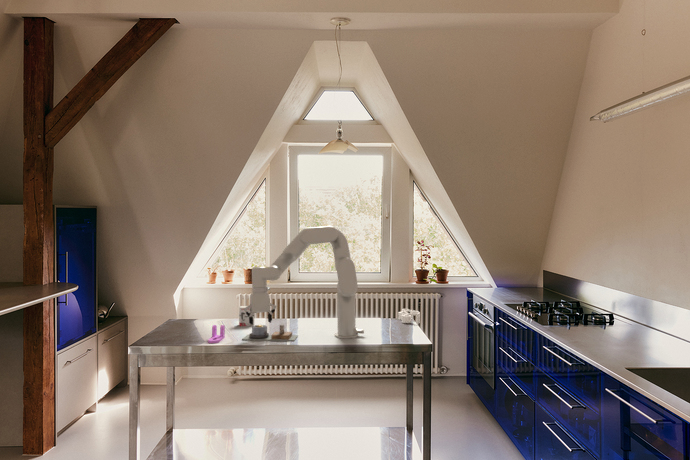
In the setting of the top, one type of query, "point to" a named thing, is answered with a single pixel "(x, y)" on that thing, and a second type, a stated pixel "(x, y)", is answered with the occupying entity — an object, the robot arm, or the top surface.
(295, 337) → the mat
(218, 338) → the bracket
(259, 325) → the hub
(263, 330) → the ring
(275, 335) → the stand
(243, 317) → the ink box
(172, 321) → the top surface
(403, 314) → the skeletal toy car
